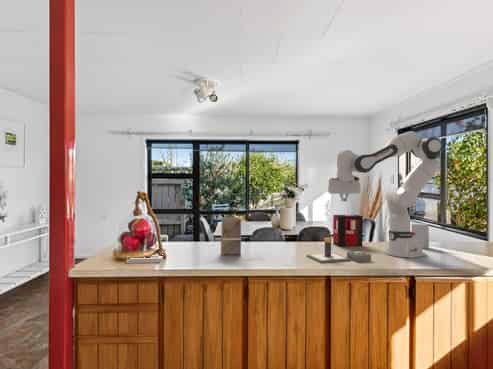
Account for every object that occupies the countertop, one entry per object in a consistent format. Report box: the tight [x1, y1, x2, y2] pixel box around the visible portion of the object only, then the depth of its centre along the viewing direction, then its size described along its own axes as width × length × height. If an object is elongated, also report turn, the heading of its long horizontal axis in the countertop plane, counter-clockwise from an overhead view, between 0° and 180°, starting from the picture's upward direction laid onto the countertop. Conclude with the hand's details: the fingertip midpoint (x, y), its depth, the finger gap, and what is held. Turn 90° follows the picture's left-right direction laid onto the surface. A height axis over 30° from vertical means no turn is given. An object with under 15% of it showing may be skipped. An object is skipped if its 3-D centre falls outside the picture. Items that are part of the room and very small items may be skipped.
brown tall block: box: [220, 211, 242, 256], centre depth 199 cm, size 8×12×26 cm
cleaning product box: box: [332, 214, 363, 248], centre depth 231 cm, size 16×9×20 cm, turn 98°
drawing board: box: [306, 252, 351, 264], centre depth 192 cm, size 18×16×1 cm
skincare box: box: [411, 222, 430, 250], centre depth 225 cm, size 8×7×16 cm
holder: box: [125, 254, 164, 264], centre depth 202 cm, size 45×18×3 cm, turn 5°
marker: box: [324, 237, 332, 257], centre depth 191 cm, size 4×4×10 cm
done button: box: [353, 251, 364, 255], centre depth 189 cm, size 5×5×3 cm
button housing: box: [346, 250, 372, 263], centre depth 189 cm, size 9×9×4 cm
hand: (344, 201), depth 204 cm, fingers closed
